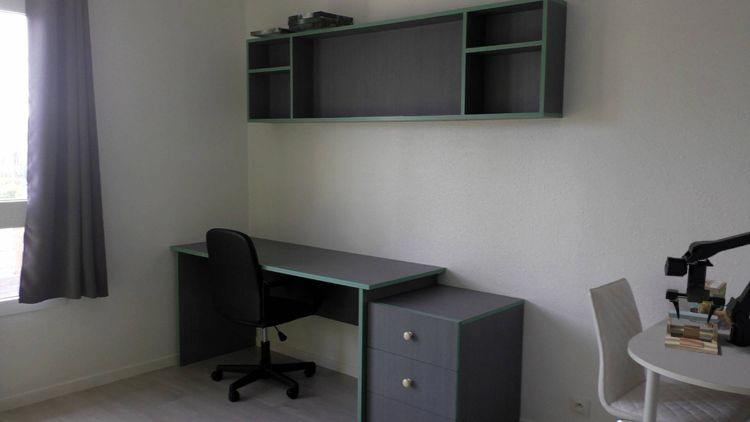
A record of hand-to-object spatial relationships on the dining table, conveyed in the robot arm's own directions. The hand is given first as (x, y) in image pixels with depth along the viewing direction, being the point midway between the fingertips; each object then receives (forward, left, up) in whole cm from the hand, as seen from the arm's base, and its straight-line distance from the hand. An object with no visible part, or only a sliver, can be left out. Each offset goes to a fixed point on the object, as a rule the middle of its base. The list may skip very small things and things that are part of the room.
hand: (693, 321), depth 227 cm
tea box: (+21, -24, -7) cm, 33 cm away
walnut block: (0, 0, -7) cm, 7 cm away
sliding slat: (+8, -6, -2) cm, 10 cm away
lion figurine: (+11, -20, -7) cm, 23 cm away
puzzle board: (-1, +1, -7) cm, 7 cm away
